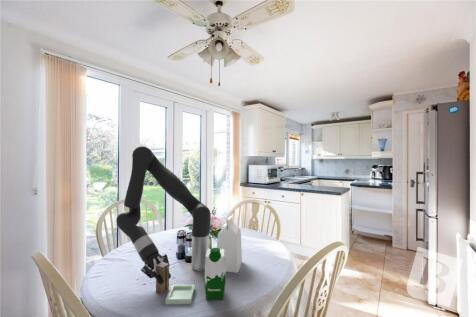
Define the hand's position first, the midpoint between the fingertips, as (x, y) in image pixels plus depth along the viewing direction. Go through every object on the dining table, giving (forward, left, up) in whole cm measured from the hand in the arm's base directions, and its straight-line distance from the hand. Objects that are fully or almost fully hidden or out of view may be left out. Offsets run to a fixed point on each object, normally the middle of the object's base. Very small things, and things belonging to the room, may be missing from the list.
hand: (166, 280), depth 94 cm
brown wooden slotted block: (+1, -2, -5) cm, 5 cm away
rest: (-5, +6, -5) cm, 9 cm away
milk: (-35, -7, -5) cm, 36 cm away
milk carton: (-18, +12, -5) cm, 22 cm away
